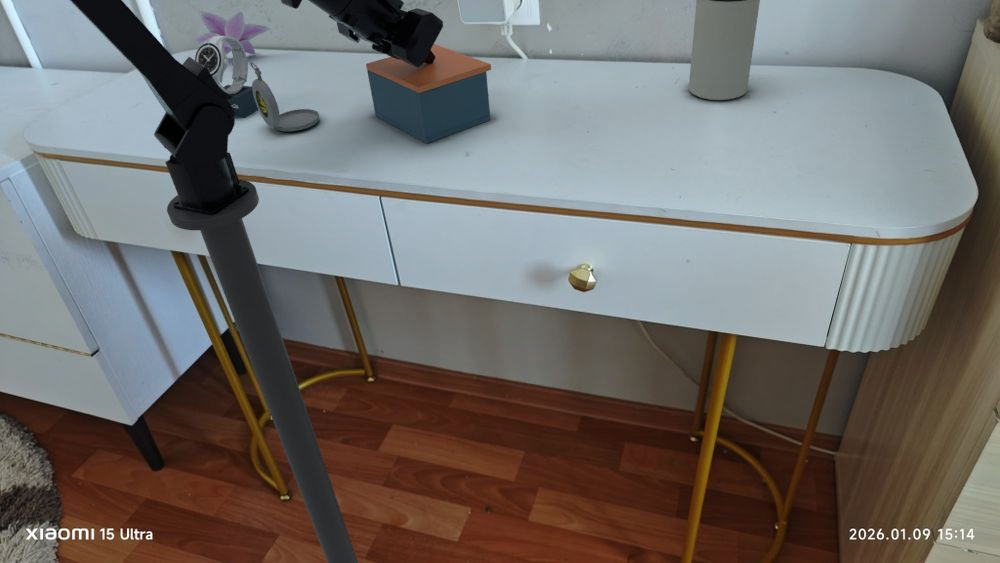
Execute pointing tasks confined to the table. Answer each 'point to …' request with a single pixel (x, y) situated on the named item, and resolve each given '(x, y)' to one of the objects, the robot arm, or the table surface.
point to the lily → (230, 30)
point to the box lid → (429, 70)
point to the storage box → (431, 106)
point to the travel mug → (722, 48)
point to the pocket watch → (271, 113)
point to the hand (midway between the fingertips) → (432, 60)
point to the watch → (216, 63)
